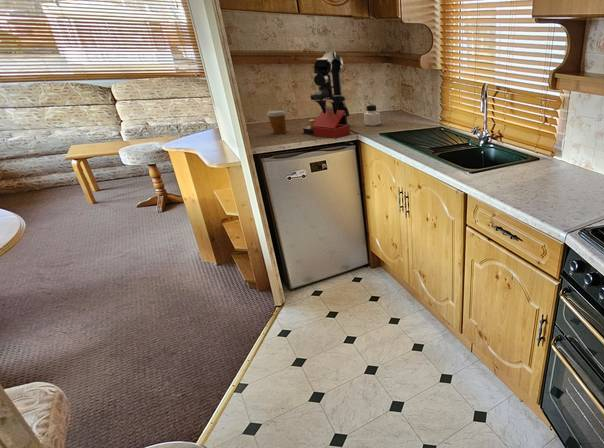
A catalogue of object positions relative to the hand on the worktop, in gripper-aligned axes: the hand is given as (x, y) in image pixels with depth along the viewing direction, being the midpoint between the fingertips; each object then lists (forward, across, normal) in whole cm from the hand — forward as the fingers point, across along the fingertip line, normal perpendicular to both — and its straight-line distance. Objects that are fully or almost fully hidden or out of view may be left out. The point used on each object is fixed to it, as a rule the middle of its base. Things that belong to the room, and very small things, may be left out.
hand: (329, 113), depth 224 cm
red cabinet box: (+12, 0, 0) cm, 12 cm away
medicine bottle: (+12, +4, +34) cm, 36 cm away
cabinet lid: (+3, 0, -1) cm, 3 cm away
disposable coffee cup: (+12, -30, -8) cm, 33 cm away
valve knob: (+8, -13, +1) cm, 16 cm away
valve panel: (+12, -13, 0) cm, 17 cm away
